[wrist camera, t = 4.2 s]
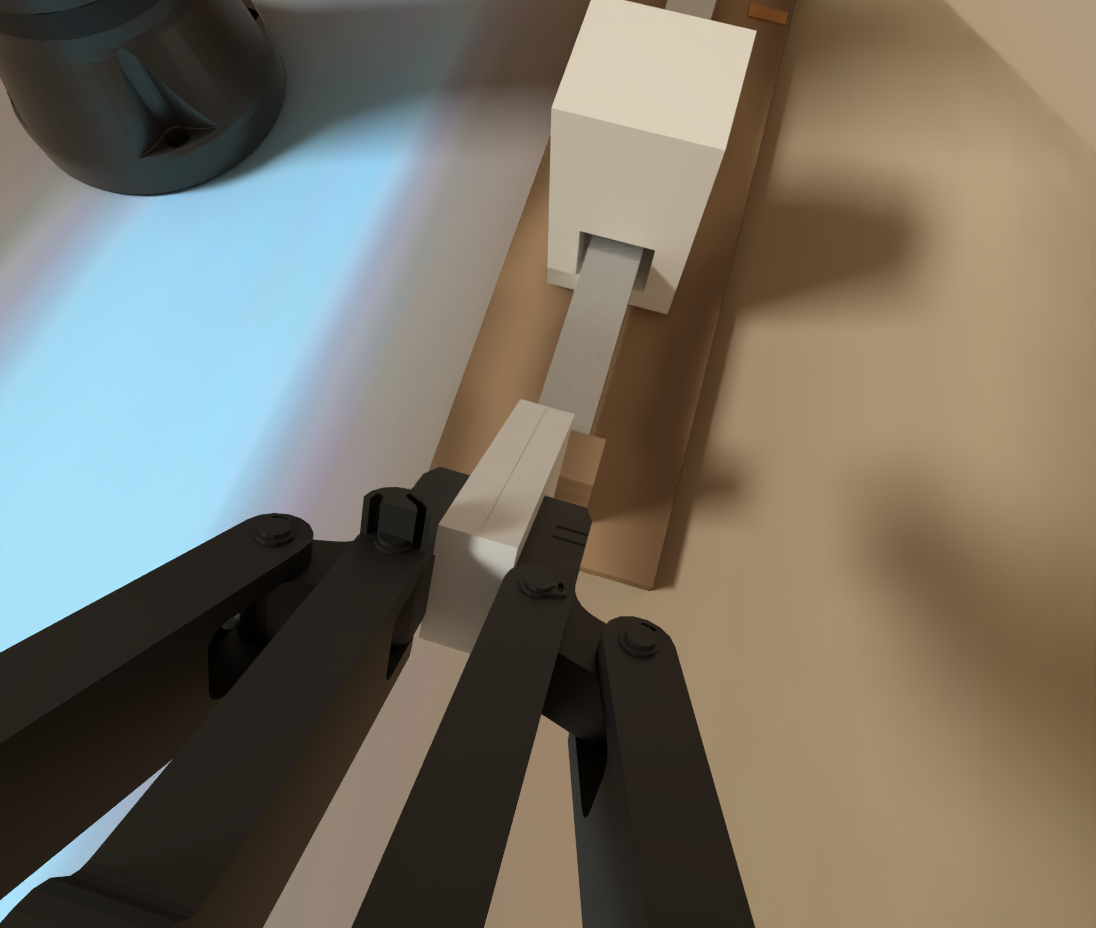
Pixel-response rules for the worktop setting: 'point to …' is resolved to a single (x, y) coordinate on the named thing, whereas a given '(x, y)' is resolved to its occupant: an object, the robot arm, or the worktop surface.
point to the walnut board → (621, 343)
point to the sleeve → (640, 138)
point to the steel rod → (598, 309)
